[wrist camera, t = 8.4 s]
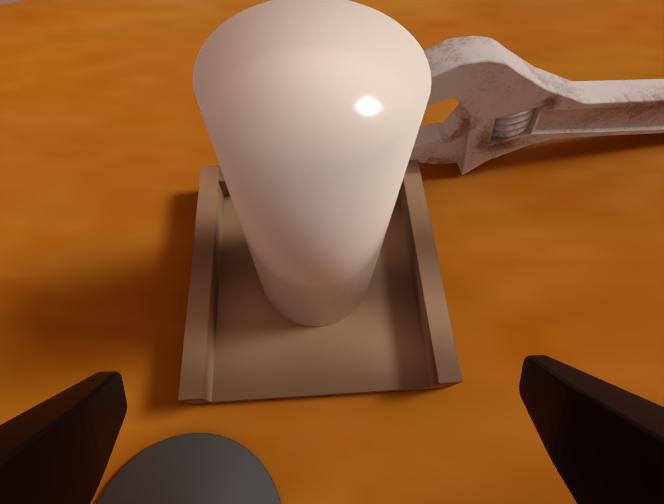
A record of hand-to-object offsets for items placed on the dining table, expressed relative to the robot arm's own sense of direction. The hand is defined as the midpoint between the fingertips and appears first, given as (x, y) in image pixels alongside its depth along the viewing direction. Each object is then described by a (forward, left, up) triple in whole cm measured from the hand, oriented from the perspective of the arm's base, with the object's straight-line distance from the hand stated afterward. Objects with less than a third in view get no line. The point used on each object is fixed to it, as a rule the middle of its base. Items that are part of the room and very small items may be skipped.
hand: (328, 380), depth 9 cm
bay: (+7, +1, -10) cm, 12 cm away
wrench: (+18, -16, -11) cm, 26 cm away
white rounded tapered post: (+7, +1, -10) cm, 12 cm away
